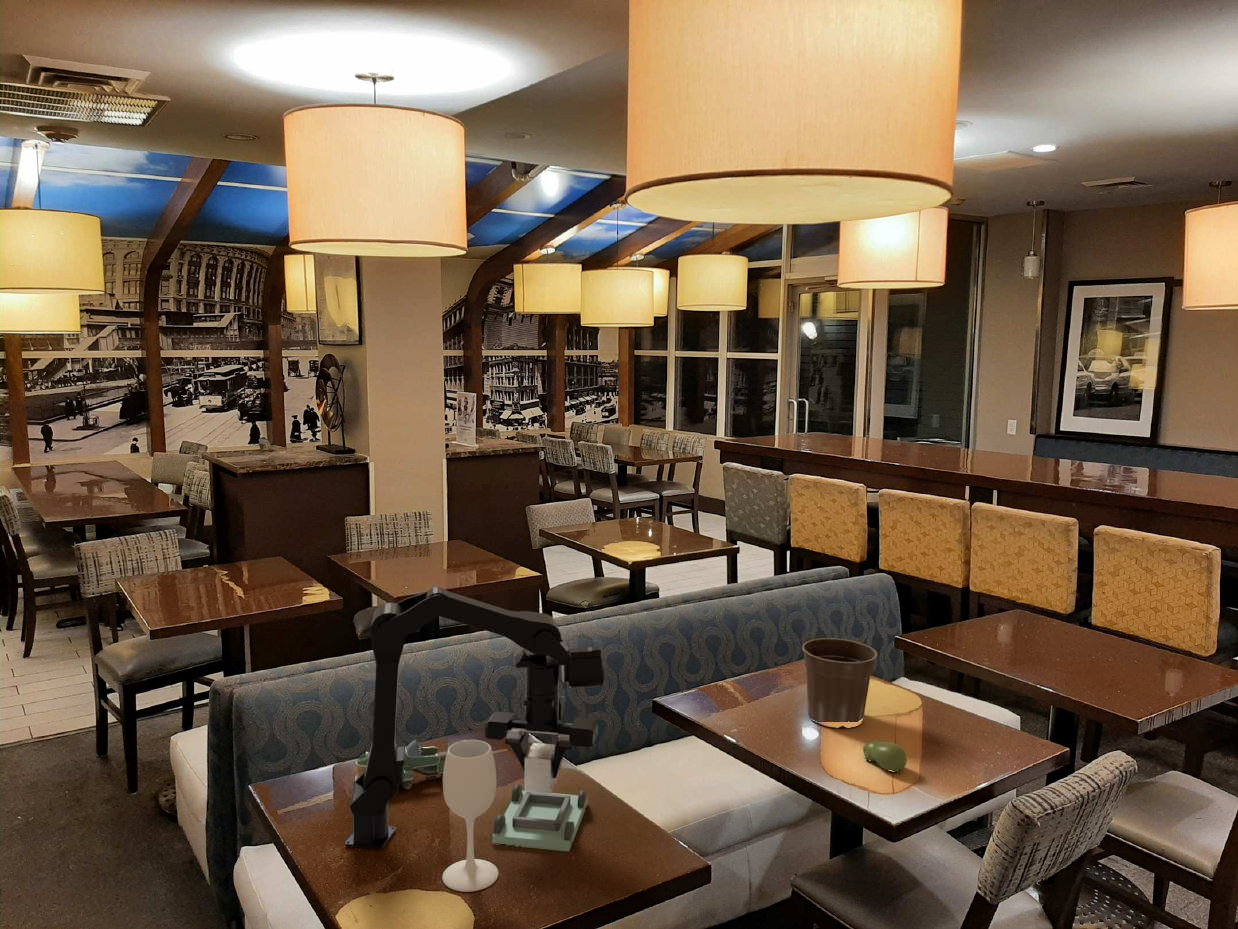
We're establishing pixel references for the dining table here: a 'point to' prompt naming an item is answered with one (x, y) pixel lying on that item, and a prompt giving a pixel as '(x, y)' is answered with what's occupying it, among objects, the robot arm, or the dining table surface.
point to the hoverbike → (413, 762)
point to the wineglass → (469, 808)
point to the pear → (886, 755)
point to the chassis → (540, 820)
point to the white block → (540, 768)
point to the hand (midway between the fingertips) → (541, 776)
